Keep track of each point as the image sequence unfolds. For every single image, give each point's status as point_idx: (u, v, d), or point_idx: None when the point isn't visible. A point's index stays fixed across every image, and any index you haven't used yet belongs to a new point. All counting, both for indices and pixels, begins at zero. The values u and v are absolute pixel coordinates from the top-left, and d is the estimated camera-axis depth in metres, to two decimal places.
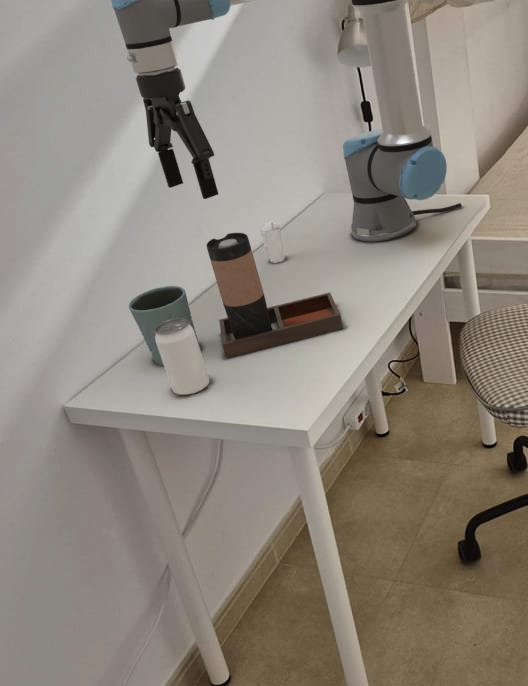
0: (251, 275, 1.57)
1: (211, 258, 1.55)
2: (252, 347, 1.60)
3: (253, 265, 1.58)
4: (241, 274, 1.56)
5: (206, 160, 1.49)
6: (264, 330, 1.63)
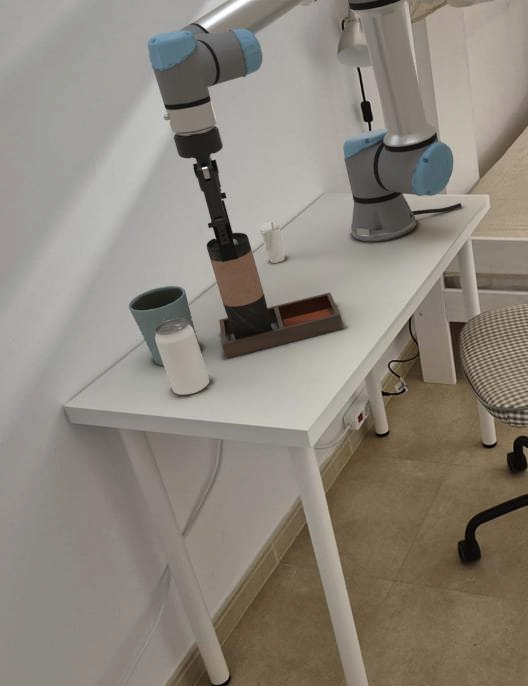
0: (251, 275, 1.57)
1: (211, 258, 1.55)
2: (252, 347, 1.60)
3: (253, 265, 1.58)
4: (241, 274, 1.56)
5: (222, 226, 1.46)
6: (264, 330, 1.63)
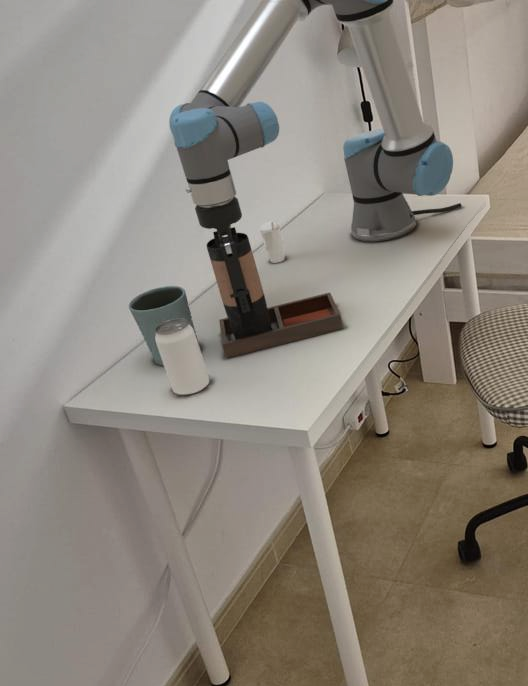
0: (251, 275, 1.57)
1: (211, 258, 1.55)
2: (252, 347, 1.60)
3: (253, 265, 1.58)
4: None
5: (243, 296, 1.55)
6: (264, 330, 1.63)
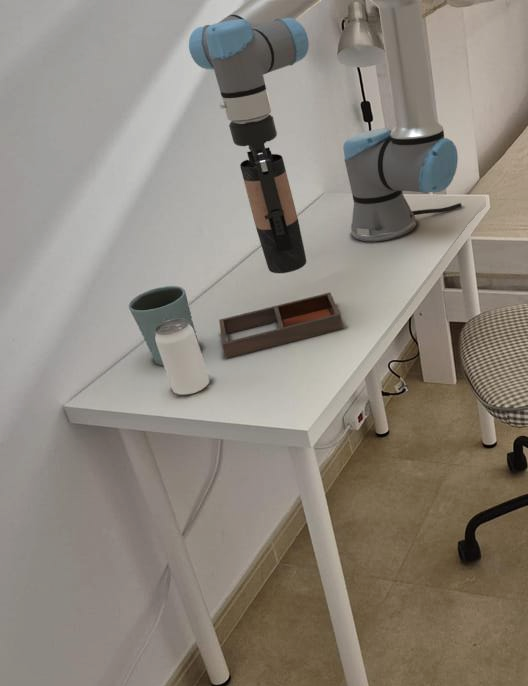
0: (285, 197, 1.53)
1: (245, 178, 1.51)
2: (252, 347, 1.60)
3: (288, 187, 1.53)
4: None
5: (278, 217, 1.51)
6: (298, 256, 1.58)
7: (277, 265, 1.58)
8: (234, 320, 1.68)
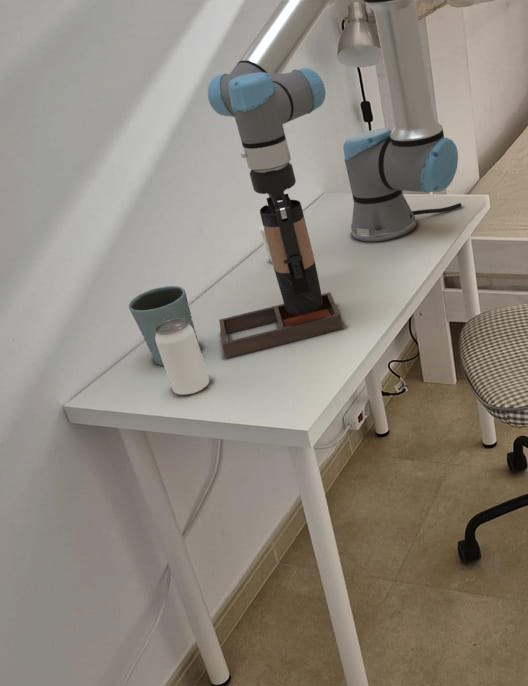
0: (304, 242, 1.57)
1: (264, 224, 1.55)
2: (252, 347, 1.60)
3: (306, 232, 1.58)
4: None
5: (296, 262, 1.56)
6: (315, 298, 1.63)
7: (295, 307, 1.62)
8: (234, 320, 1.68)
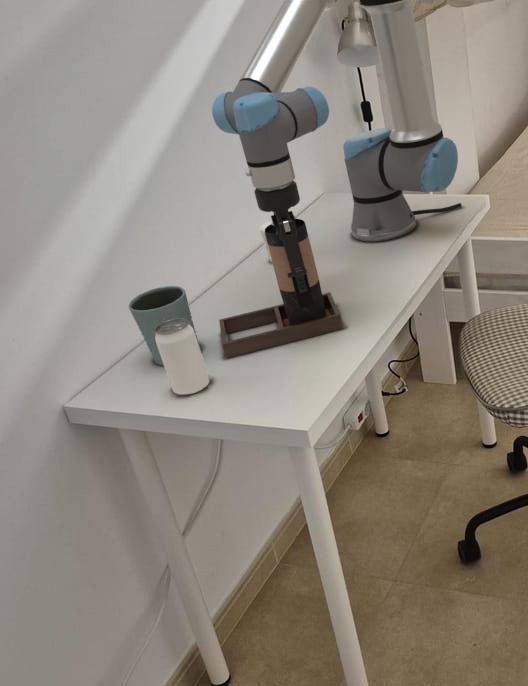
0: (308, 261, 1.59)
1: (269, 243, 1.57)
2: (252, 347, 1.60)
3: (310, 251, 1.60)
4: None
5: (301, 276, 1.54)
6: (319, 315, 1.65)
7: None
8: (234, 320, 1.68)
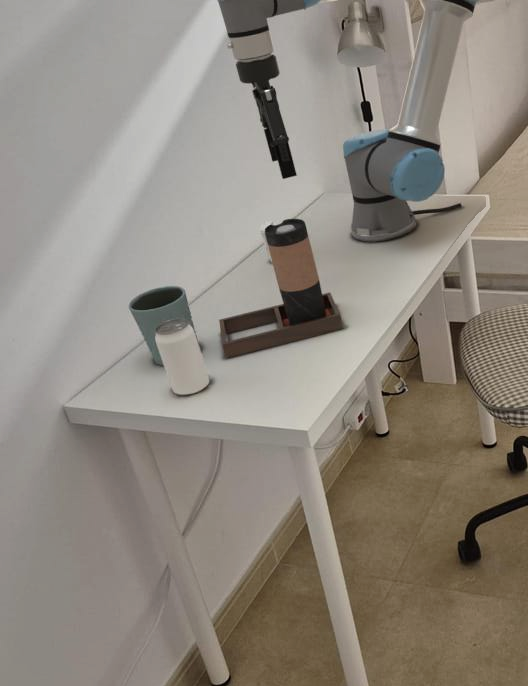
0: (308, 261, 1.59)
1: (269, 243, 1.57)
2: (252, 347, 1.60)
3: (310, 251, 1.60)
4: (299, 259, 1.58)
5: (283, 144, 1.61)
6: (319, 315, 1.65)
7: None
8: (234, 320, 1.68)
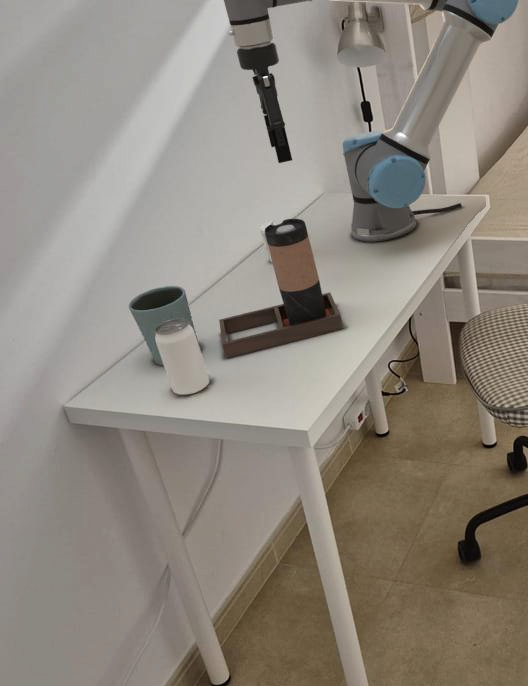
0: (308, 261, 1.59)
1: (269, 243, 1.57)
2: (252, 347, 1.60)
3: (310, 251, 1.60)
4: (299, 259, 1.58)
5: (279, 129, 1.67)
6: (319, 315, 1.65)
7: None
8: (234, 320, 1.68)
